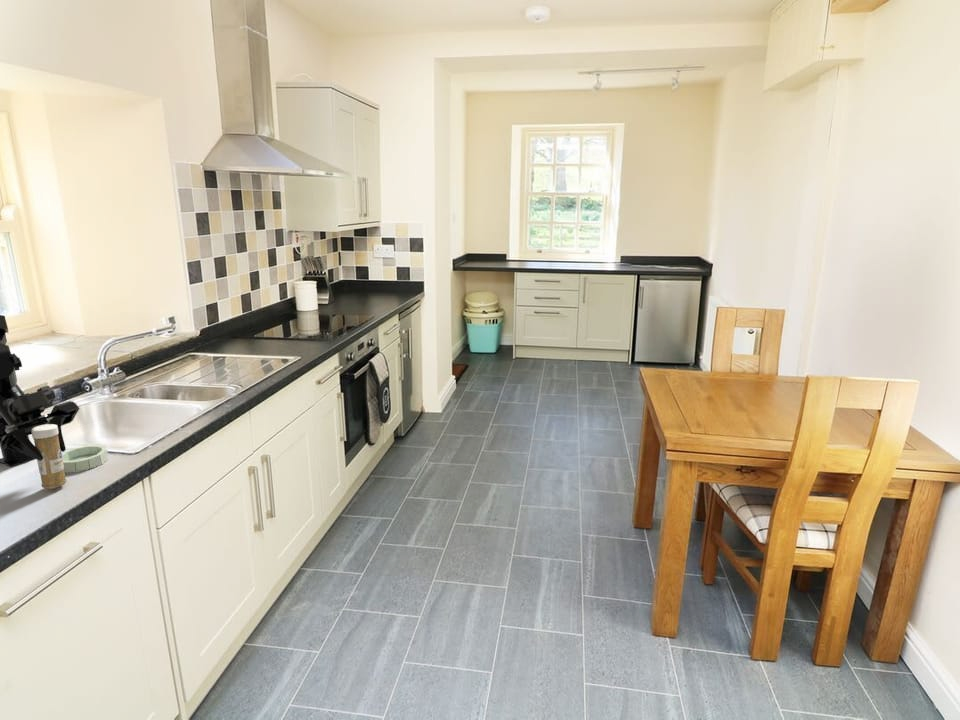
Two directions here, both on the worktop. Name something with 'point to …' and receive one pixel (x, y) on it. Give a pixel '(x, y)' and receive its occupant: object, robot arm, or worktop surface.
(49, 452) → the sprinkles bottle
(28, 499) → the worktop surface
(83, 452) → the dish
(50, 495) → the worktop surface
